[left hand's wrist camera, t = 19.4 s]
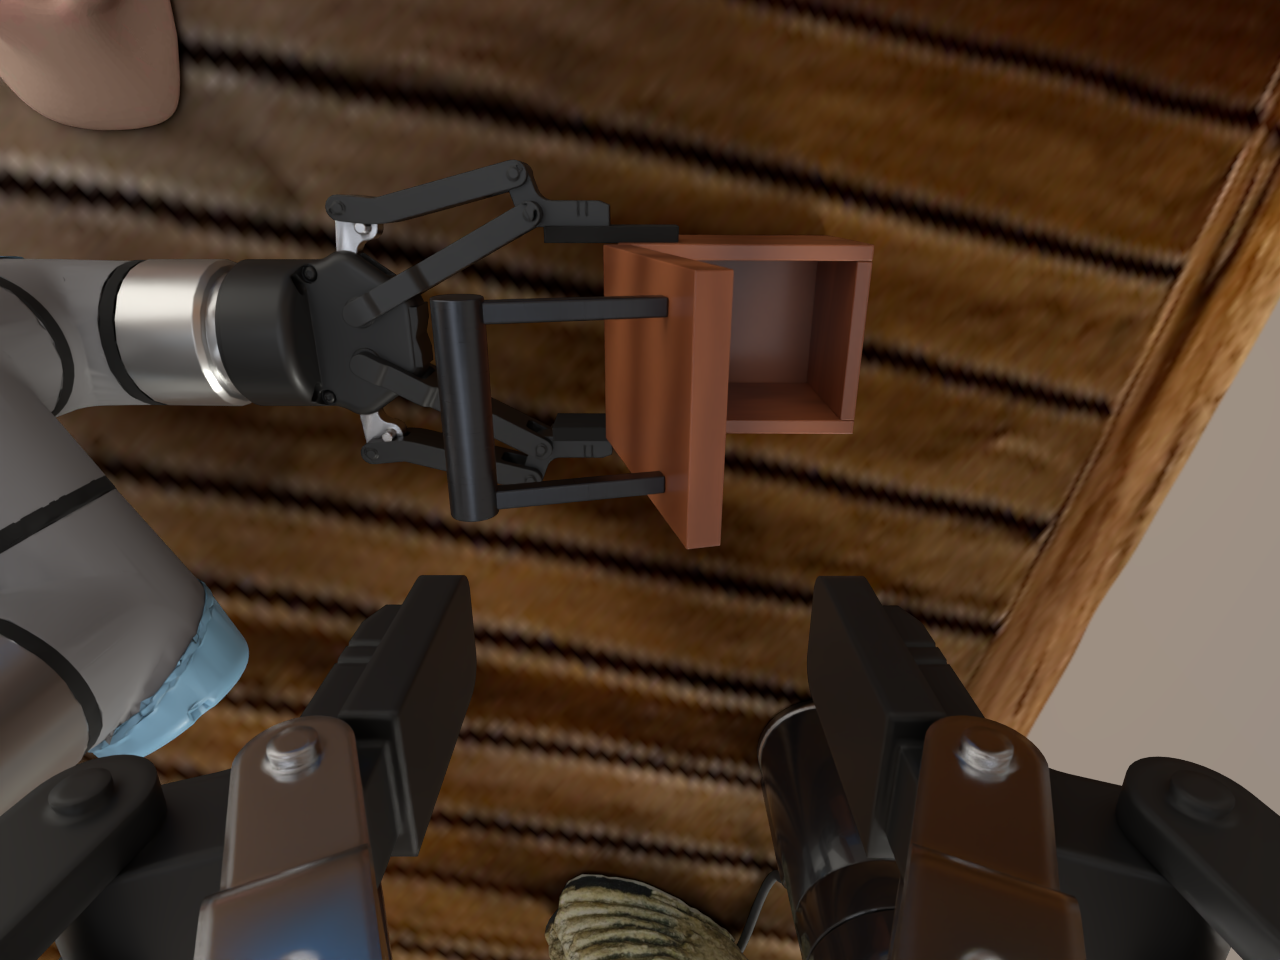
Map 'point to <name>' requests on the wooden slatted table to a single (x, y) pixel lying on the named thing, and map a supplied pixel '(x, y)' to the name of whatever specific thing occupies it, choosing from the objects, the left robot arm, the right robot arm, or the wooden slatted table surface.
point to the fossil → (632, 924)
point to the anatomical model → (92, 60)
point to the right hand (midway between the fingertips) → (675, 334)
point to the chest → (790, 327)
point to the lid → (607, 390)
